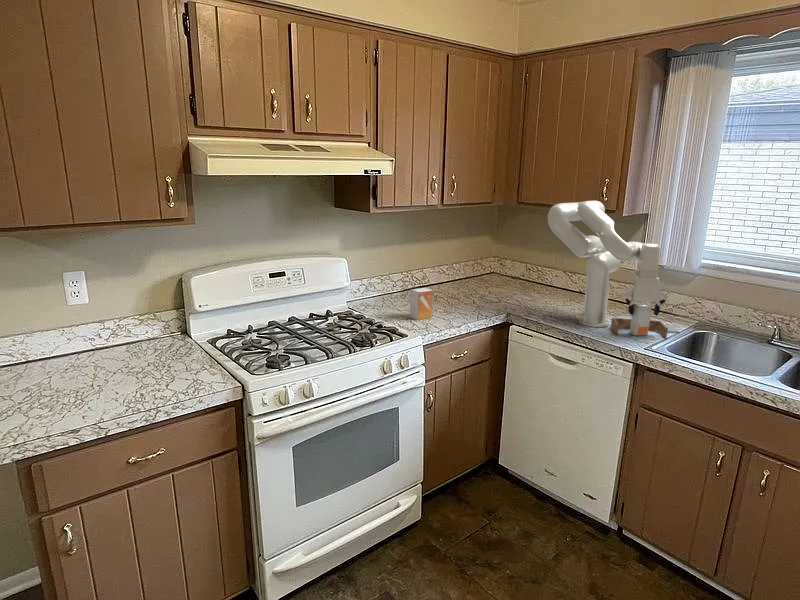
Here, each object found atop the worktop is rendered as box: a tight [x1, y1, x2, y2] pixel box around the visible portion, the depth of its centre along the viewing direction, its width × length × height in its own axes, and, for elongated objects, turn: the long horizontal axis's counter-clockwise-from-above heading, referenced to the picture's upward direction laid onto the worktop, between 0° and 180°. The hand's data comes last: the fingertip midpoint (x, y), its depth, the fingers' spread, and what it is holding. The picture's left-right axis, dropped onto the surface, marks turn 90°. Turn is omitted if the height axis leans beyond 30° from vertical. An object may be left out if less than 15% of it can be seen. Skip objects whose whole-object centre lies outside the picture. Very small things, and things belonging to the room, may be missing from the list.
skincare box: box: [629, 304, 652, 336], centre depth 218 cm, size 6×4×12 cm
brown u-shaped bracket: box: [610, 317, 668, 339], centre depth 220 cm, size 20×11×4 cm, turn 80°
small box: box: [409, 287, 434, 321], centre depth 237 cm, size 8×6×13 cm
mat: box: [654, 324, 681, 334], centre depth 227 cm, size 10×10×1 cm
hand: (643, 314), depth 217 cm, fingers open, 9 cm apart
